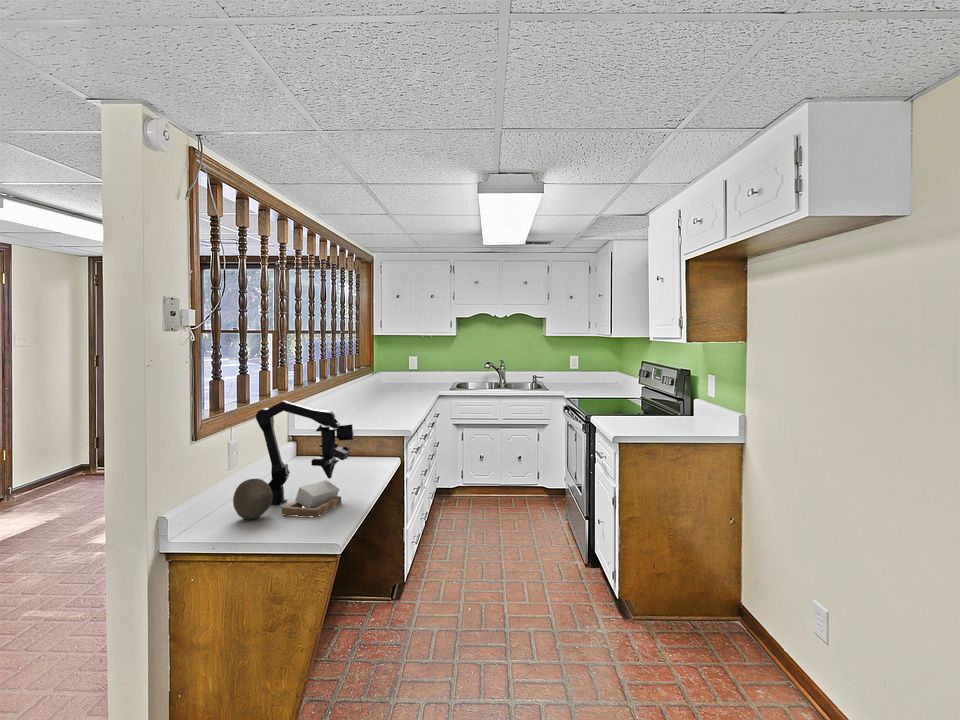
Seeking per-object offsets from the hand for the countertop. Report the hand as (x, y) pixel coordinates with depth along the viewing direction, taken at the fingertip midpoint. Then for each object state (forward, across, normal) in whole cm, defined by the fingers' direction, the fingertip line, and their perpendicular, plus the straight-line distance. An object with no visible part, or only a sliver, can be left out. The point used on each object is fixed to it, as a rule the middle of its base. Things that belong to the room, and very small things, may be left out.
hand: (329, 478), depth 256 cm
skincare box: (+5, -2, -2) cm, 5 cm away
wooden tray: (+9, -13, 0) cm, 16 cm away
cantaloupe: (+9, -30, +16) cm, 35 cm away
